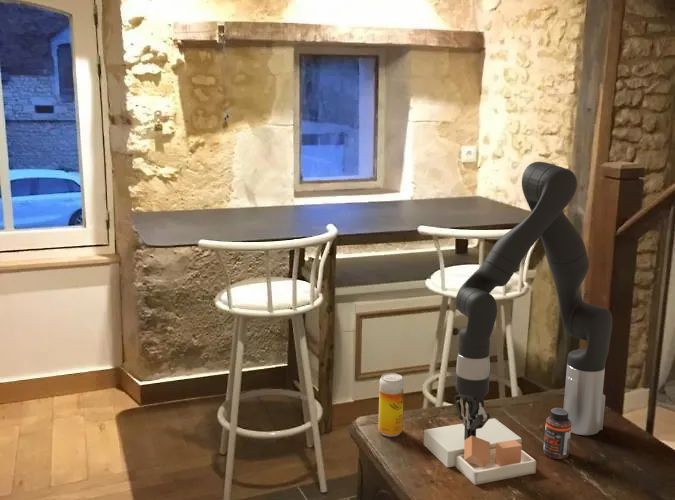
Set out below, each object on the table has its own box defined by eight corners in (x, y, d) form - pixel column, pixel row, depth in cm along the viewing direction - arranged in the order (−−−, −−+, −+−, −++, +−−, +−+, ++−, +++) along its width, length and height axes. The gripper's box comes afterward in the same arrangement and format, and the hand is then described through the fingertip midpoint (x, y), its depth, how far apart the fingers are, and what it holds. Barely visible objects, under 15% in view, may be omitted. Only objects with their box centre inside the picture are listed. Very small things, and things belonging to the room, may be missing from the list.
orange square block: (482, 447, 176) (489, 442, 174) (482, 466, 173) (490, 462, 171) (464, 440, 175) (471, 435, 173) (464, 460, 172) (471, 455, 170)
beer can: (400, 438, 188) (402, 382, 185) (376, 436, 190) (378, 380, 186) (403, 428, 194) (405, 373, 191) (380, 425, 195) (381, 371, 192)
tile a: (514, 439, 176) (521, 445, 174) (513, 459, 177) (520, 465, 175) (496, 442, 175) (502, 448, 172) (494, 462, 176) (501, 468, 173)
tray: (514, 456, 180) (515, 444, 180) (535, 472, 172) (536, 461, 172) (455, 467, 175) (456, 455, 174) (474, 484, 167) (475, 472, 166)
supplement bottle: (539, 455, 181) (542, 411, 178) (548, 446, 185) (552, 403, 183) (563, 462, 177) (567, 418, 175) (572, 453, 182) (576, 410, 180)
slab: (493, 432, 192) (494, 418, 191) (520, 453, 181) (521, 438, 181) (423, 444, 185) (424, 429, 185) (447, 467, 174) (447, 451, 174)
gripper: (502, 380, 168) (498, 451, 172) (472, 360, 180) (469, 427, 184) (473, 385, 166) (470, 457, 169) (444, 364, 178) (442, 431, 182)
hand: (469, 441), depth 177 cm, fingers closed
